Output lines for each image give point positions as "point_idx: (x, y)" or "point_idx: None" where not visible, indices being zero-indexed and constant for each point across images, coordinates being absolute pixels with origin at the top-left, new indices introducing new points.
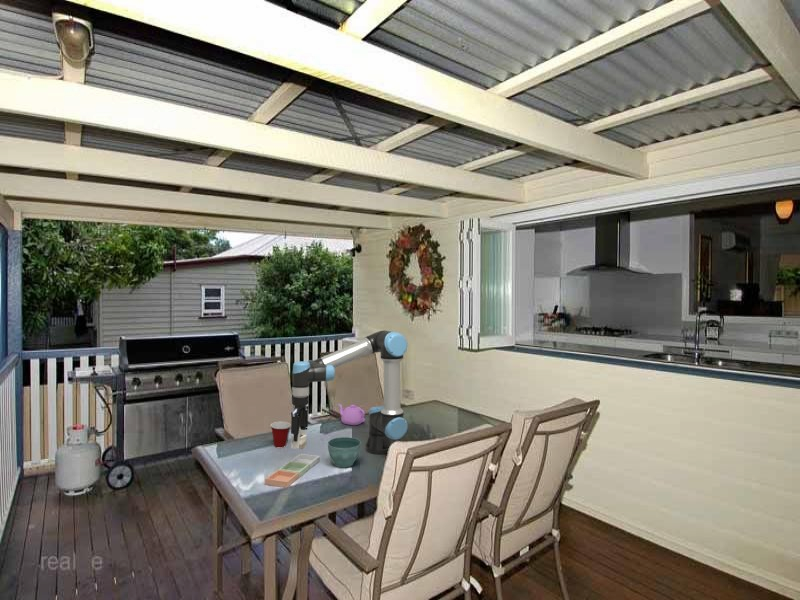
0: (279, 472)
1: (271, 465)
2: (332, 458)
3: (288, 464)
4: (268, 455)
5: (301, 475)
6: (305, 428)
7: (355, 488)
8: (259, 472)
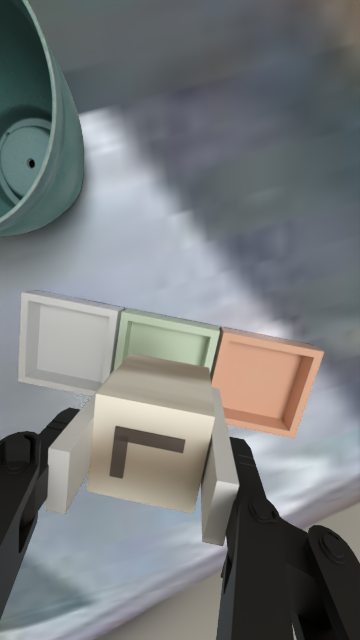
0: None
1: None
2: (68, 205)
3: None
4: None
5: (198, 322)
6: (25, 464)
7: (308, 35)
8: None
